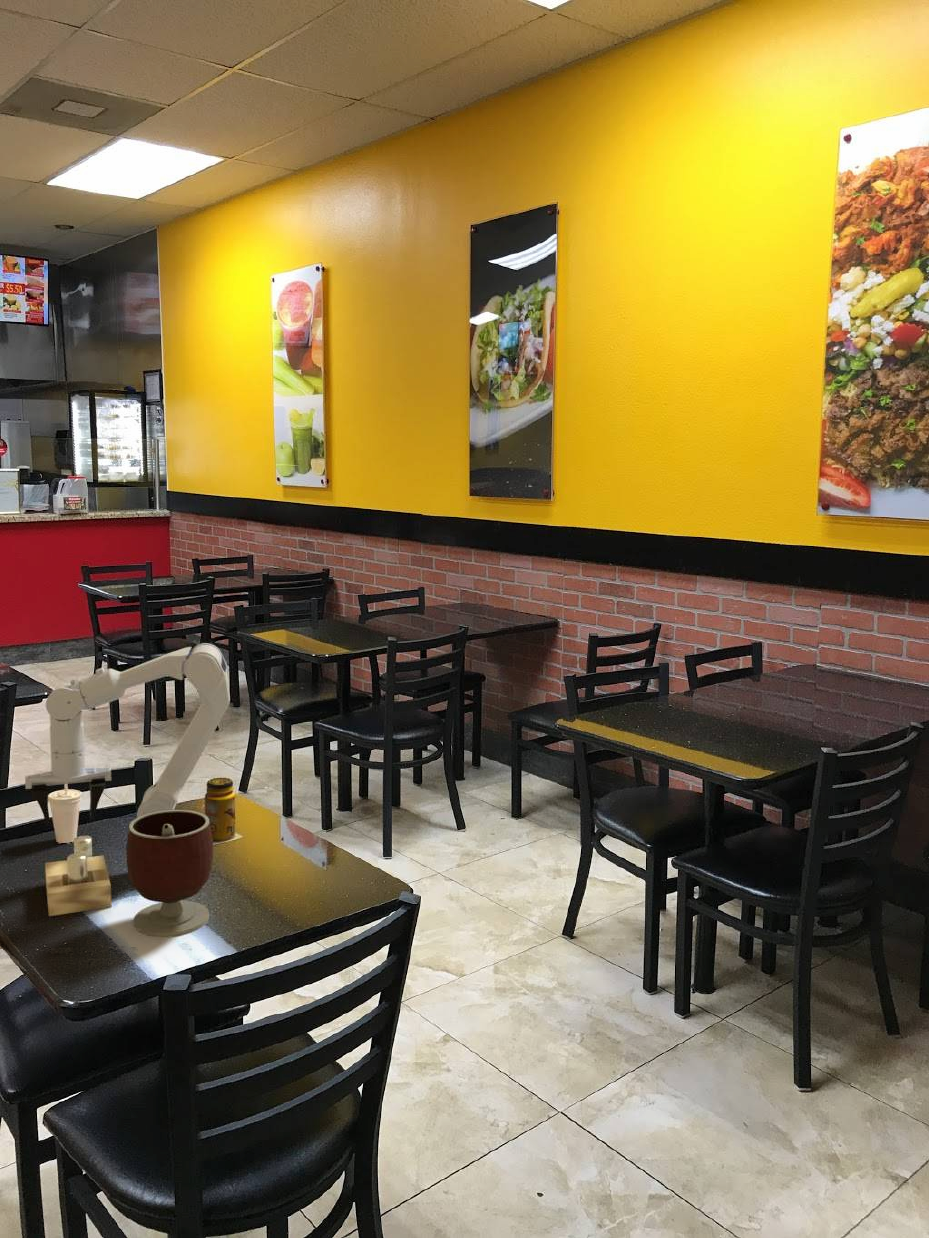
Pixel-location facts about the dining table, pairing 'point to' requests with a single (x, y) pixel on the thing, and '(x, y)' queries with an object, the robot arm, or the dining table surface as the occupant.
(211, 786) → the condiment
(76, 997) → the dining table surface
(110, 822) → the dining table surface
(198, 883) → the mate gourd
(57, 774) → the robot arm
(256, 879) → the dining table surface
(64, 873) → the pin block
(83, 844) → the short pin
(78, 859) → the tall pin
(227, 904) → the dining table surface
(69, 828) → the smoothie
